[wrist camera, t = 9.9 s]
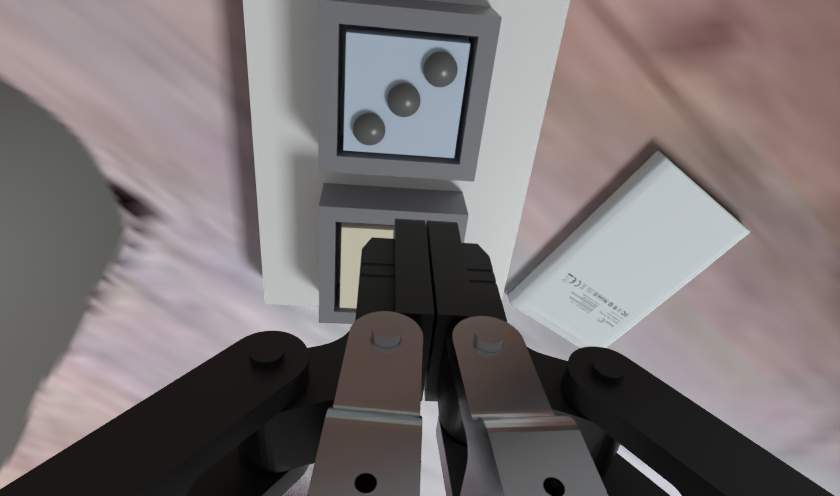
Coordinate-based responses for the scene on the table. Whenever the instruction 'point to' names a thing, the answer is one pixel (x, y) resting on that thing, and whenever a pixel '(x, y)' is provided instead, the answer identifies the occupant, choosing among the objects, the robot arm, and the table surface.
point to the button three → (403, 91)
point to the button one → (356, 256)
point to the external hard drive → (628, 256)
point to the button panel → (381, 172)
